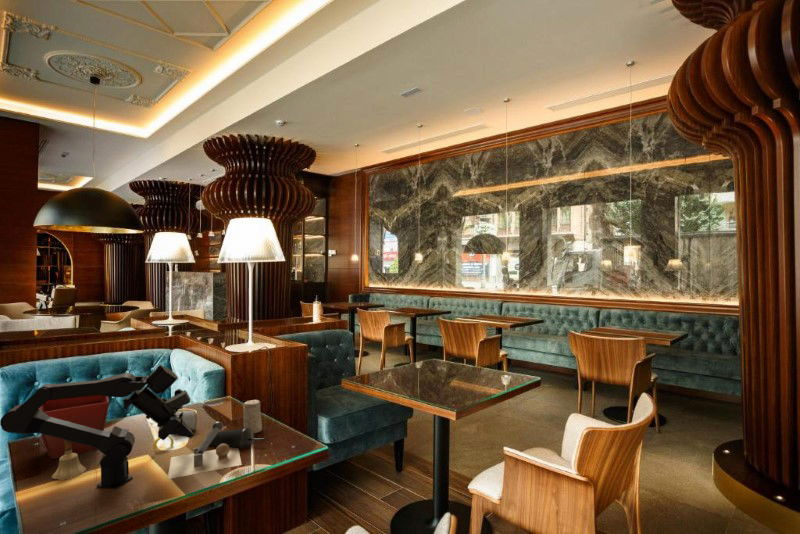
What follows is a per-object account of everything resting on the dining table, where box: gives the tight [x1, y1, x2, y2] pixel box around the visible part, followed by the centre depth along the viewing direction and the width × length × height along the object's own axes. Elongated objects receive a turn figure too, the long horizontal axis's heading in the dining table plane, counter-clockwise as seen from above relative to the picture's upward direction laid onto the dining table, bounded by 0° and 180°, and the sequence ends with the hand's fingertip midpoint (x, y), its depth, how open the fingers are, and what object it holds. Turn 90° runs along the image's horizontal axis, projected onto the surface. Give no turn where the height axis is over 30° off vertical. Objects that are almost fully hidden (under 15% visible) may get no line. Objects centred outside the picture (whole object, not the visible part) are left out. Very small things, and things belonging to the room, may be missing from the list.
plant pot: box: [39, 395, 110, 460], centre depth 152 cm, size 19×19×17 cm
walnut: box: [215, 443, 229, 460], centre depth 139 cm, size 4×4×4 cm
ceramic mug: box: [175, 410, 198, 431], centre depth 168 cm, size 11×8×8 cm
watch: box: [152, 435, 174, 452], centre depth 148 cm, size 6×3×6 cm, turn 139°
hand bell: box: [51, 421, 87, 480], centre depth 134 cm, size 8×8×16 cm
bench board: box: [167, 446, 242, 480], centre depth 137 cm, size 20×16×5 cm
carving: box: [242, 399, 263, 434], centre depth 162 cm, size 6×8×12 cm
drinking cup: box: [209, 428, 265, 450], centre depth 149 cm, size 8×8×20 cm
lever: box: [196, 421, 224, 454], centre depth 137 cm, size 3×4×12 cm
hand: (192, 436), depth 135 cm, fingers closed
